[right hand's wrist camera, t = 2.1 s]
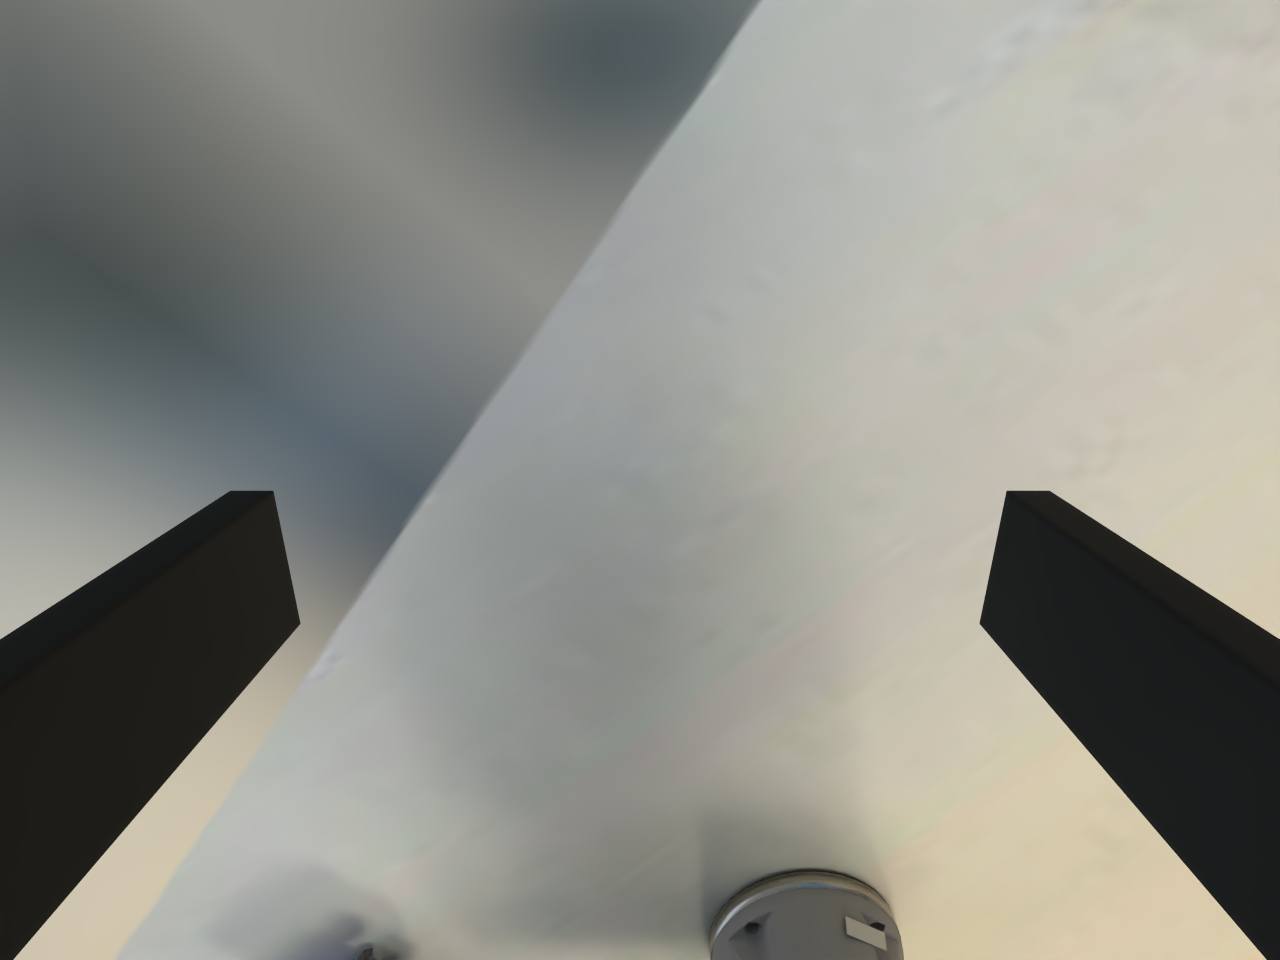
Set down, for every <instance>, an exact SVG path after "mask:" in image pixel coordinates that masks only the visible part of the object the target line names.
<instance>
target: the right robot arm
mask: <svg viewBox="0 0 1280 960" xmlns="http://www.w3.org/2000/svg"><path fill="white" fill-rule="evenodd" d="M299 625H300V619H299V615H298V610H297V605H296V600H295V595H294V590H293V585H292V580H291V575H290V570H289V565H288V561H287V556H286V551H285V546H284V541H283V536H282V531H281V526H280V521H279V517H278V512H277V507H276V502H275V497H274V492H273V491H230V492H228V493H226V494H225V495H223V496H222V497H220V498H219V499H217V500H216V501H214V502H212V503H211V504H209V505H208V506H206V507H205V508H203V509H202V510H200V511H198V512H197V513H195V514H194V515H192V516H191V517H189V518H188V519H186V520H185V521H183V522H181V523H180V524H178V525H177V526H175V527H174V528H172V529H171V530H169V531H168V532H166V533H164V534H163V535H161V536H160V537H158V538H157V539H155V540H154V541H152V542H150V543H149V544H147V545H146V546H144V547H143V548H141V549H140V550H138V551H137V552H135V553H133V554H132V555H130V556H129V557H127V558H126V559H124V560H123V561H121V562H120V563H118V564H117V565H115V566H113V567H112V568H110V569H109V570H107V571H106V572H104V573H102V574H101V575H99V576H98V577H96V578H95V579H93V580H92V581H90V582H89V583H87V584H86V585H84V586H82V587H81V588H79V589H78V590H76V591H75V592H73V593H72V594H70V595H68V596H67V597H65V598H64V599H62V600H61V601H59V602H58V603H56V604H55V605H53V606H51V607H50V608H48V609H47V610H45V611H44V612H42V613H41V614H39V615H38V616H36V617H34V618H33V619H31V620H30V621H28V622H27V623H25V624H24V625H22V626H20V627H19V628H17V629H16V630H14V631H13V632H11V633H10V634H8V635H7V636H5V637H3V638H2V639H0V960H13V959H14V958H15V957H16V956H17V955H18V953H19V952H20V951H21V950H22V949H23V948H24V946H25V945H26V944H27V943H28V942H29V941H30V939H31V938H32V937H33V936H34V935H35V934H36V932H37V931H38V930H39V929H40V928H41V926H42V925H43V924H44V923H45V922H46V921H47V919H48V918H49V917H50V916H51V915H52V914H53V912H54V911H55V910H56V909H57V908H58V907H59V905H60V904H61V903H62V902H63V901H64V900H65V898H66V897H67V896H68V895H69V894H70V893H71V891H72V890H73V889H74V888H75V887H76V886H77V884H78V883H79V882H80V881H81V880H82V879H83V877H84V876H85V875H86V874H87V873H88V872H89V870H90V869H91V868H92V867H93V866H94V865H95V863H96V862H97V861H98V860H99V859H100V857H101V856H102V855H103V854H104V853H105V852H106V850H107V849H108V848H109V847H110V846H111V845H112V843H113V842H114V841H115V840H116V839H117V838H118V836H119V835H120V834H121V833H122V832H123V831H124V829H125V828H126V827H127V826H128V825H129V824H130V822H131V821H132V820H133V819H134V818H135V816H136V815H137V814H138V813H139V812H140V811H141V810H142V808H143V807H144V806H145V805H146V804H147V803H148V801H149V800H150V799H151V798H152V797H153V795H154V794H155V793H156V792H157V791H158V790H159V788H160V787H161V786H162V785H163V784H164V783H165V781H166V780H167V779H168V778H169V777H170V776H171V774H172V773H173V772H174V771H175V770H176V769H177V767H178V766H179V765H180V764H181V763H182V762H183V760H184V759H185V758H186V757H187V756H188V755H189V753H190V752H191V751H192V750H193V749H194V747H195V746H196V745H197V744H198V743H199V742H200V741H201V739H202V738H203V737H204V736H205V735H206V733H207V732H208V731H209V730H210V729H211V728H212V726H213V725H214V724H215V723H216V722H217V721H218V719H219V718H220V717H221V716H222V715H223V714H224V712H225V711H226V710H227V709H228V708H229V707H230V705H231V704H232V703H233V702H234V701H235V700H236V698H237V697H238V696H239V695H240V694H241V692H242V691H243V690H244V689H245V688H246V687H247V685H248V684H249V683H250V682H251V681H252V680H253V678H254V677H255V676H256V675H257V674H258V673H259V671H260V670H261V669H262V668H263V667H264V666H265V664H266V663H267V662H268V661H269V660H270V659H271V657H272V656H273V655H274V654H275V653H276V652H277V650H278V649H279V648H280V647H281V646H282V645H283V643H284V642H285V641H286V640H287V639H288V638H289V636H290V635H291V634H292V633H293V632H294V631H295V629H296V628H297V627H298V626H299ZM980 625H981V626H982V627H983V628H984V629H985V631H986V632H987V633H988V634H989V635H990V636H991V638H992V639H993V640H994V641H995V642H996V643H997V645H998V646H999V647H1000V648H1001V649H1002V650H1003V652H1004V653H1005V654H1006V655H1007V656H1008V657H1009V659H1010V660H1011V661H1012V662H1013V663H1014V664H1015V666H1016V667H1017V668H1018V669H1019V670H1020V671H1021V673H1022V674H1023V675H1024V676H1025V677H1026V679H1027V680H1028V681H1029V682H1030V683H1031V684H1032V686H1033V687H1034V688H1035V689H1036V690H1037V691H1038V693H1039V694H1040V695H1041V696H1042V697H1043V698H1044V700H1045V701H1046V702H1047V703H1048V704H1049V705H1050V707H1051V708H1052V709H1053V710H1054V711H1055V712H1056V714H1057V715H1058V716H1059V717H1060V718H1061V719H1062V721H1063V722H1064V723H1065V724H1066V725H1067V726H1068V728H1069V729H1070V730H1071V731H1072V732H1073V733H1074V735H1075V736H1076V737H1077V738H1078V739H1079V741H1080V742H1081V743H1082V744H1083V745H1084V746H1085V748H1086V749H1087V750H1088V751H1089V752H1090V753H1091V755H1092V756H1093V757H1094V758H1095V759H1096V760H1097V762H1098V763H1099V764H1100V765H1101V766H1102V767H1103V769H1104V770H1105V771H1106V772H1107V773H1108V774H1109V776H1110V777H1111V778H1112V779H1113V780H1114V781H1115V783H1116V784H1117V785H1118V786H1119V787H1120V788H1121V790H1122V791H1123V792H1124V793H1125V794H1126V795H1127V797H1128V798H1129V799H1130V800H1131V801H1132V803H1133V804H1134V805H1135V806H1136V807H1137V808H1138V810H1139V811H1140V812H1141V813H1142V814H1143V815H1144V817H1145V818H1146V819H1147V820H1148V821H1149V822H1150V824H1151V825H1152V826H1153V827H1154V828H1155V829H1156V831H1157V832H1158V833H1159V834H1160V835H1161V836H1162V838H1163V839H1164V840H1165V841H1166V842H1167V843H1168V845H1169V846H1170V847H1171V848H1172V849H1173V850H1174V852H1175V853H1176V854H1177V855H1178V856H1179V857H1180V859H1181V860H1182V861H1183V862H1184V863H1185V865H1186V866H1187V867H1188V868H1189V869H1190V870H1191V872H1192V873H1193V874H1194V875H1195V876H1196V877H1197V879H1198V880H1199V881H1200V882H1201V883H1202V884H1203V886H1204V887H1205V888H1206V889H1207V890H1208V891H1209V893H1210V894H1211V895H1212V896H1213V897H1214V898H1215V900H1216V901H1217V902H1218V903H1219V904H1220V905H1221V907H1222V908H1223V909H1224V910H1225V911H1226V912H1227V914H1228V915H1229V916H1230V917H1231V918H1232V920H1233V921H1234V922H1235V923H1236V924H1237V925H1238V927H1239V928H1240V929H1241V930H1242V931H1243V932H1244V934H1245V935H1246V936H1247V937H1248V938H1249V939H1250V941H1251V942H1252V943H1253V944H1254V945H1255V946H1256V948H1257V949H1258V950H1259V951H1260V952H1261V953H1262V955H1263V956H1264V957H1265V958H1266V959H1267V960H1280V639H1278V638H1277V637H1275V636H1274V635H1272V634H1270V633H1269V632H1267V631H1266V630H1264V629H1263V628H1261V627H1260V626H1258V625H1256V624H1255V623H1253V622H1252V621H1250V620H1249V619H1247V618H1246V617H1244V616H1243V615H1241V614H1239V613H1238V612H1236V611H1235V610H1233V609H1232V608H1230V607H1229V606H1227V605H1226V604H1224V603H1222V602H1221V601H1219V600H1218V599H1216V598H1215V597H1213V596H1212V595H1210V594H1208V593H1207V592H1205V591H1204V590H1202V589H1201V588H1199V587H1198V586H1196V585H1195V584H1193V583H1191V582H1190V581H1188V580H1187V579H1185V578H1184V577H1182V576H1181V575H1179V574H1178V573H1176V572H1174V571H1173V570H1171V569H1170V568H1168V567H1167V566H1165V565H1164V564H1162V563H1160V562H1159V561H1157V560H1156V559H1154V558H1153V557H1151V556H1150V555H1148V554H1147V553H1145V552H1143V551H1142V550H1140V549H1139V548H1137V547H1136V546H1134V545H1133V544H1131V543H1130V542H1128V541H1126V540H1125V539H1123V538H1122V537H1120V536H1119V535H1117V534H1116V533H1114V532H1112V531H1111V530H1109V529H1108V528H1106V527H1105V526H1103V525H1102V524H1100V523H1099V522H1097V521H1095V520H1094V519H1092V518H1091V517H1089V516H1088V515H1086V514H1085V513H1083V512H1082V511H1080V510H1078V509H1077V508H1075V507H1074V506H1072V505H1071V504H1069V503H1068V502H1066V501H1064V500H1063V499H1061V498H1060V497H1058V496H1057V495H1055V494H1054V493H1052V492H1051V491H1007V492H1006V497H1005V502H1004V507H1003V512H1002V517H1001V521H1000V526H999V531H998V536H997V541H996V546H995V551H994V556H993V561H992V565H991V570H990V575H989V580H988V585H987V590H986V595H985V600H984V605H983V610H982V614H981V619H980ZM709 942H710V955H711V960H904V956H903V948H902V943H901V937H900V934H899V931H898V928H897V925H896V922H895V920H894V917H893V914H892V912H891V910H890V908H889V906H888V905H887V903H886V902H885V901H884V900H883V899H882V897H881V896H880V895H878V894H877V893H876V892H875V891H874V890H872V889H871V888H870V887H868V886H866V885H865V884H863V883H861V882H859V881H857V880H854V879H852V878H849V877H846V876H842V875H838V874H833V873H827V872H814V871H807V872H793V873H787V874H782V875H778V876H774V877H770V878H767V879H764V880H762V881H760V882H757V883H755V884H753V885H751V886H749V887H747V888H746V889H744V890H742V891H741V892H739V893H738V894H737V895H735V896H734V897H733V898H732V899H731V900H730V901H728V902H727V903H726V905H725V906H724V907H723V908H722V909H721V911H720V912H719V913H718V915H717V917H716V918H715V920H714V923H713V925H712V928H711V932H710V939H709Z"/></svg>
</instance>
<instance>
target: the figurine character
mask: <svg viewBox="0 0 1280 960" xmlns="http://www.w3.org/2000/svg"><path fill="white" fill-rule="evenodd" d="M372 954H373V950H372V948H371V949H368V950H365V951H364V952H363V953H362V954H361V955H360V957H359V958H358V959H357V960H367V959H368V958H369V957H370V956H371V955H372ZM354 960H355V959H354Z"/></svg>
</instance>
